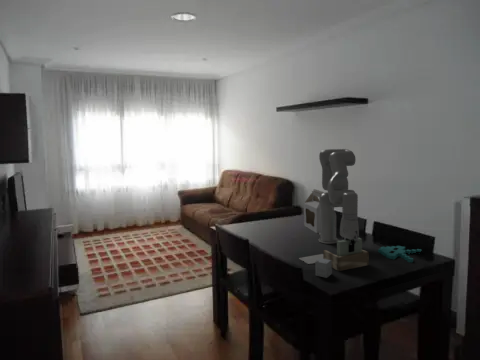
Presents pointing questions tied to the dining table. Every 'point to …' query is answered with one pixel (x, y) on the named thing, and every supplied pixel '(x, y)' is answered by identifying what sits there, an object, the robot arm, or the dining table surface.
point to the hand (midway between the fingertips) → (349, 250)
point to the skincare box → (323, 267)
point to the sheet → (344, 247)
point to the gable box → (313, 211)
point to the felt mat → (311, 258)
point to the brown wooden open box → (347, 260)
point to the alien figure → (397, 252)
